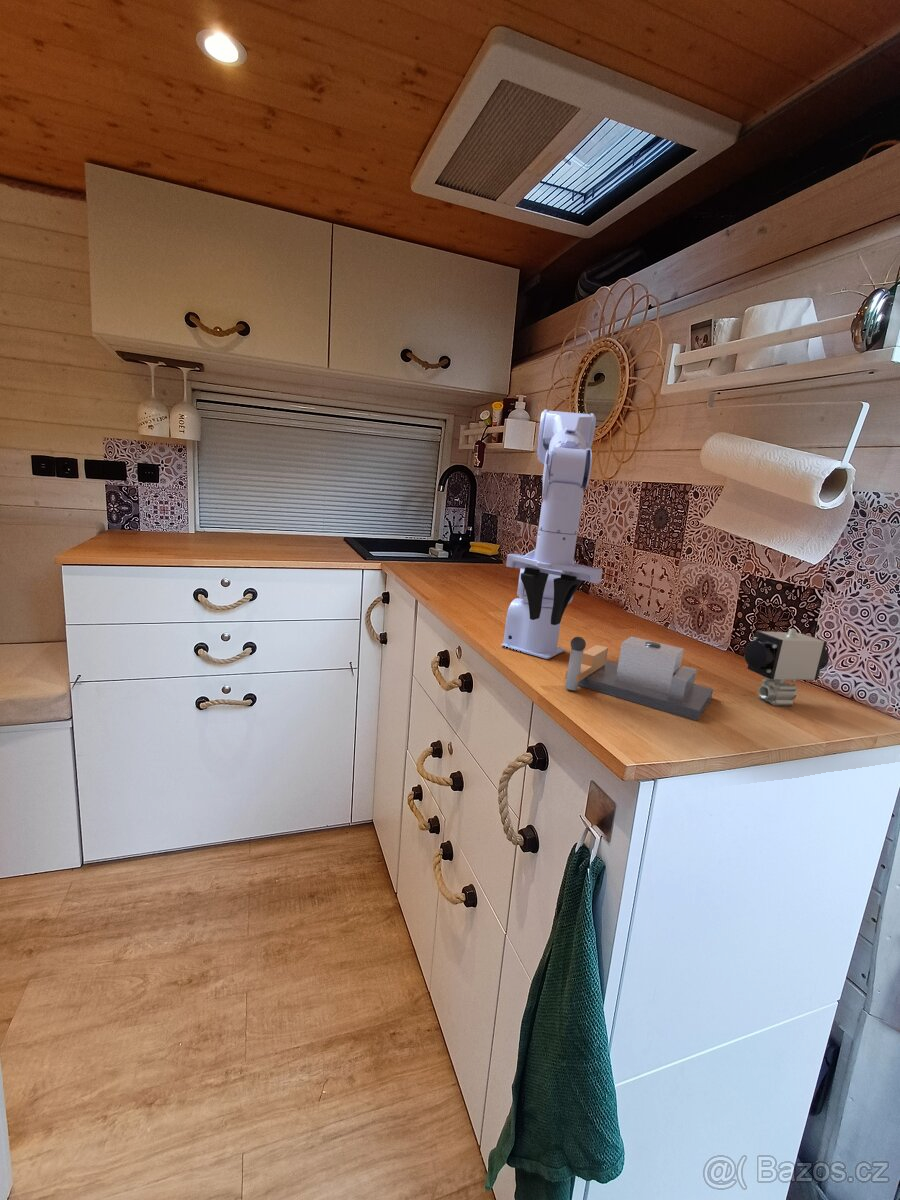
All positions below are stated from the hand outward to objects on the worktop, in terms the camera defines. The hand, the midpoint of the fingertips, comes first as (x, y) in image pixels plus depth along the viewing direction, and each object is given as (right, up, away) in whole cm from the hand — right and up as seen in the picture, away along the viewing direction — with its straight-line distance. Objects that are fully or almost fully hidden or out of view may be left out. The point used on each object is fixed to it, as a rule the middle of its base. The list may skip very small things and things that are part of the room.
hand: (544, 621), depth 85 cm
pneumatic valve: (+37, -13, +4) cm, 39 cm away
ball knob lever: (+7, -9, +3) cm, 12 cm away
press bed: (+16, -11, +2) cm, 19 cm away
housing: (+16, -10, +1) cm, 19 cm away
